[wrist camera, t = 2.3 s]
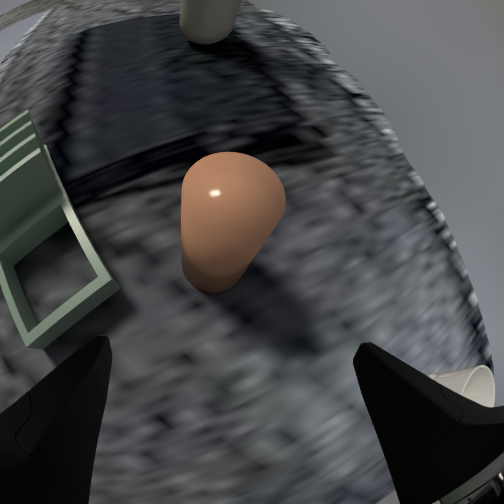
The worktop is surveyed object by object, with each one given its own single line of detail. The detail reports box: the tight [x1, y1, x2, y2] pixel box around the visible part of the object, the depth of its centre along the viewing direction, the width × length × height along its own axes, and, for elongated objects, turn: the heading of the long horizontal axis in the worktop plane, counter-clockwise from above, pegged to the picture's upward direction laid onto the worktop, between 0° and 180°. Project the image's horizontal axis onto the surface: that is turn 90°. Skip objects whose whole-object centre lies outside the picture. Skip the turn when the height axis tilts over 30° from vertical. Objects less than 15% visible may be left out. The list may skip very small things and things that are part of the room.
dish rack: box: [0, 110, 120, 349], centre depth 17 cm, size 10×20×8 cm, turn 42°
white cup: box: [426, 365, 495, 407], centre depth 18 cm, size 8×8×10 cm
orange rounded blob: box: [181, 152, 286, 293], centre depth 19 cm, size 6×6×11 cm
